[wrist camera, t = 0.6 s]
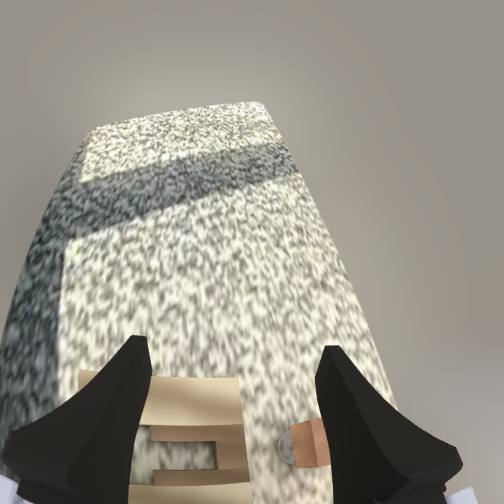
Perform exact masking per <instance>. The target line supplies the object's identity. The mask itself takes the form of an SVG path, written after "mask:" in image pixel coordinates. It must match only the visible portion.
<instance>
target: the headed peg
mask: <svg viewBox="0 0 504 504" xmlns="http://www.w3.org/2000/svg"><path fill="white" fill-rule="evenodd" d="M276 450H277V453H278V456H279V457H280V458H281V460H282V461H284V462H285V463H287V464H290V465H296V468H312V467H321V466H326V465H330V464H331V460H330V452H329V446H328V441H327V437H326V433H325V429H324V425H323V421H322V418H318V419H312V420H308V421H305V422H302V423H299V424H296V425H292V426H290V429H289V430H286V431H285V432H283V433H282V434H281V435H280V437H279V438H278V441H277V444H276Z"/></svg>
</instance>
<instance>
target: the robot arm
mask: <svg viewBox="0 0 504 504" xmlns="http://www.w3.org/2000/svg"><path fill="white" fill-rule="evenodd" d="M151 376H152V366H151V360H150V355H149V350H148V344H147V338H146V337H145V336H137V335H132V336H130V337H129V339H128V340H127V341H126V342H125V343H124V345H123V346H122V347H121V348H120V349H119V350H118V352H117V353H116V354H115V355H114V356H113V357H112V359H111V360H110V361H109V362H108V363H107V364H106V365H105V366H104V367H103V368H102V370H101V371H100V372H99V373H98V374H97V375H96V376H95V377H94V378H93V379H92V380H91V381H90V382H89V383H88V384H86V385H85V386H84V387H83V388H82V389H81V390H80V391H79V392H77V393H76V394H75V395H74V396H73V397H71V398H70V399H69V400H67V401H66V402H65V403H63V404H62V405H61V406H59V407H58V408H56V409H55V410H53V411H52V412H50V413H48V414H47V415H45V416H43V417H42V418H40V419H38V420H36V421H35V422H33V423H31V424H28V425H26V426H24V427H22V428H19V429H17V430H15V431H12V432H11V434H10V436H9V437H8V440H7V442H6V444H5V447H4V449H3V452H2V454H1V457H0V458H1V460H2V462H3V463H4V464H5V465H6V466H7V467H8V468H9V469H10V470H11V471H12V472H13V473H14V474H16V475H17V476H18V477H19V478H20V479H21V481H20V484H17V483H16V482H14V481H12V480H11V479H9V478H7V477H5V476H3V475H1V474H0V504H128V495H129V481H130V471H131V463H132V455H133V448H134V442H135V438H136V434H137V430H138V427H139V423H140V420H141V416H142V413H143V410H144V406H145V403H146V399H147V396H148V393H149V388H150V382H151ZM315 386H316V395H317V401H318V405H319V409H320V413H321V417H322V421H323V425H324V429H325V433H326V437H327V441H328V446H329V452H330V460H331V470H332V482H333V501H334V504H478V502H477V500H476V497H475V494H474V492H473V489H472V487H471V486H469V487H467V488H464V489H462V490H460V491H458V492H455V493H453V494H451V495H449V496H447V497H444V494H443V492H445V491H446V486H445V483H446V482H447V481H448V480H449V479H451V478H452V477H453V476H455V475H456V474H457V473H458V472H459V471H460V470H461V468H462V467H463V463H462V460H461V458H460V455H459V453H458V451H457V449H456V447H454V446H452V445H450V444H448V443H445V442H444V441H442V440H439V439H437V438H436V437H434V436H432V435H430V434H429V433H427V432H426V431H424V430H422V429H421V428H419V427H418V426H416V425H415V424H414V423H412V422H411V421H409V420H408V419H407V418H405V417H404V416H403V415H402V414H400V413H399V412H398V411H397V410H396V409H395V408H393V407H392V406H391V405H390V404H389V403H388V402H387V401H386V400H385V399H384V398H383V397H382V396H381V395H380V394H379V393H378V392H377V391H376V390H375V389H374V388H373V387H372V385H371V384H370V383H369V382H368V381H367V380H366V378H365V377H364V376H363V375H362V374H361V373H360V371H359V370H358V369H357V368H356V366H355V365H354V364H353V363H352V361H351V360H350V359H349V357H348V356H347V355H346V354H345V352H344V351H343V350H342V348H341V347H340V346H339V345H334V346H325V347H324V351H323V354H322V357H321V360H320V363H319V366H318V369H317V373H316V376H315Z"/></svg>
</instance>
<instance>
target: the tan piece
mask: <svg viewBox="0 0 504 504" xmlns="http://www.w3.org/2000/svg"><path fill="white" fill-rule="evenodd" d="M98 373H99V372H97V371H89V370H81V369H79V383H78V392H79V391H80V390H81V389H82V388H83V387H84V386H85V385H86V384H88V383H89V382H90V381H91V380H92V379H93V378H94V377H95V376H96V375H97V374H98ZM139 425H146V426H150V429H151V441H158V442H209V441H214V451H215V461H216V469H208V470H153V475H154V485H143V484H129V495H128V504H253V499H252V492H251V484H250V476H249V468H248V460H247V452H246V444H245V435H244V427H243V418H242V409H241V400H240V391H239V381H238V378H184V377H159V376H151V382H150V388H149V393H148V396H147V399H146V403H145V406H144V410H143V413H142V416H141V420H140V423H139Z"/></svg>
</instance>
